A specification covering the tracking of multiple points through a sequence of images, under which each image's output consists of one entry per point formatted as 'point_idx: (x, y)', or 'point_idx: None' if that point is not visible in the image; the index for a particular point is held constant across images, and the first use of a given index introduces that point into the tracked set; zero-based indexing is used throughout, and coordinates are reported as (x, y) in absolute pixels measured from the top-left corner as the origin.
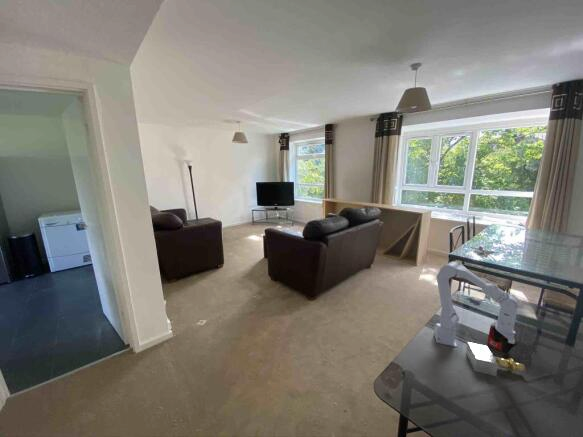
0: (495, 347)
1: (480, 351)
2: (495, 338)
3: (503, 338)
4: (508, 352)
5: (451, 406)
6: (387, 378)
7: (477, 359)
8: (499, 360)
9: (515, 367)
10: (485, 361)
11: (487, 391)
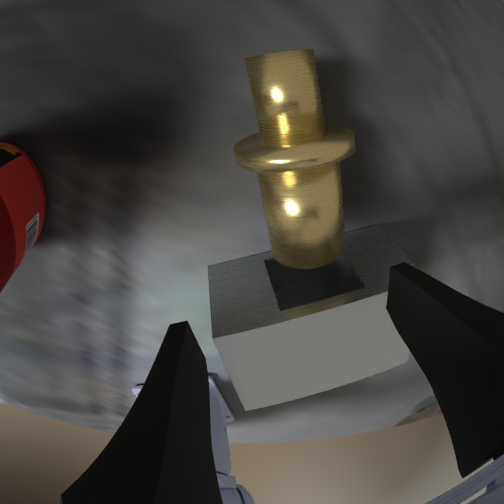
0: (42, 214)
1: (327, 362)
2: (207, 396)
3: (488, 459)
4: (419, 271)
5: None
6: (438, 412)
7: (406, 356)
8: (337, 246)
9: (353, 134)
10: None
11: (466, 262)
